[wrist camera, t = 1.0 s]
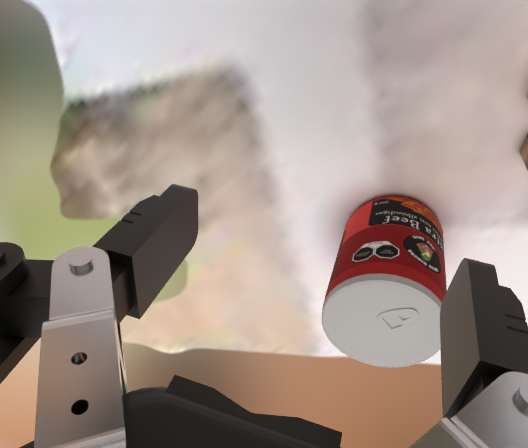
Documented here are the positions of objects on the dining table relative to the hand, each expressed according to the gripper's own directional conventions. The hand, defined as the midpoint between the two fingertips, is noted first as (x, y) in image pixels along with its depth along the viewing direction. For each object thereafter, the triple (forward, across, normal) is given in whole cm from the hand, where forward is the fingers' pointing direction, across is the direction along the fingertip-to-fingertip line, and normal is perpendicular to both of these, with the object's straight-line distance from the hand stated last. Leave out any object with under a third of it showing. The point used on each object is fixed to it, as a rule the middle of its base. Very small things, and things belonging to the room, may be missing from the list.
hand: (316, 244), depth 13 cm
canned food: (+21, -4, +13) cm, 25 cm away
